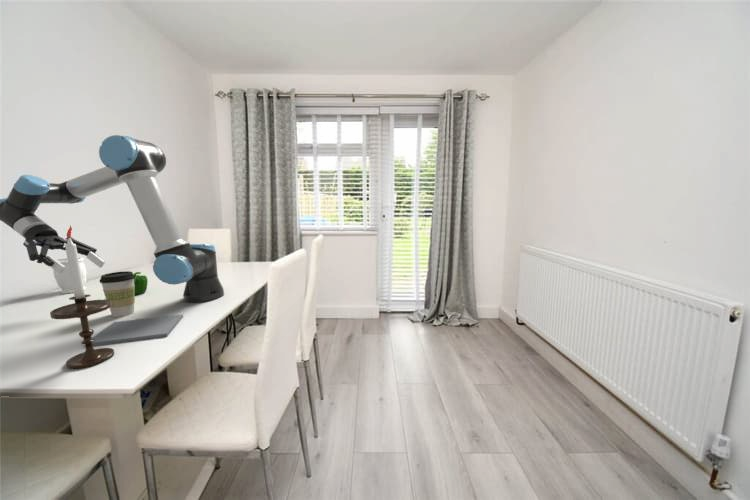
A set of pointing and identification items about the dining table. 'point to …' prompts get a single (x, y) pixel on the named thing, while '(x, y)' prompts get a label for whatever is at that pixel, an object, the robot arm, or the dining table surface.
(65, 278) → the jar
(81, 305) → the candlestick
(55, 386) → the dining table surface
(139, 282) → the bell pepper
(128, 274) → the coffee cup
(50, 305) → the dining table surface
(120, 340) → the slate mat
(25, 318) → the dining table surface
